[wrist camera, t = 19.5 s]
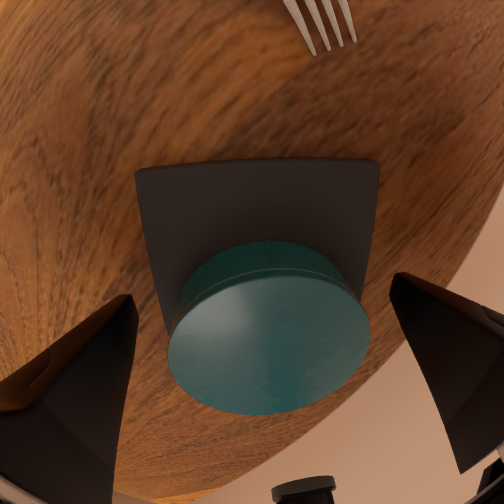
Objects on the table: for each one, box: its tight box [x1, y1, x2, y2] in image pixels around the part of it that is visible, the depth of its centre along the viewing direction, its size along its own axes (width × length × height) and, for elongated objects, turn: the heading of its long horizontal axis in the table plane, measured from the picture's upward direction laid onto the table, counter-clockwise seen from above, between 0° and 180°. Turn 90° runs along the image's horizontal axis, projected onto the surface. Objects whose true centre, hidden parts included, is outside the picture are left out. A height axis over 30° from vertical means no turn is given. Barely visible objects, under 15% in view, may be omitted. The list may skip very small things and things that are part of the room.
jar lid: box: [167, 240, 370, 415], centre depth 10 cm, size 7×7×2 cm
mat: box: [134, 158, 380, 337], centre depth 10 cm, size 8×8×1 cm
